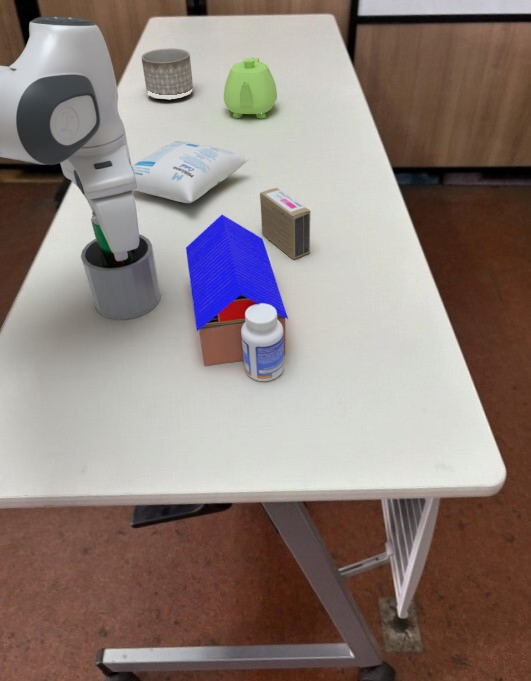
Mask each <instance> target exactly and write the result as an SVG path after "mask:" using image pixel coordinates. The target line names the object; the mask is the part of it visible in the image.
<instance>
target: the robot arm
mask: <svg viewBox="0 0 531 681" xmlns="http://www.w3.org/2000/svg"><path fill="white" fill-rule="evenodd" d="M28 25H29V26H28V32H29V37H28V40H27V43H26V45H25V47H24V49H23V51H22V52H21V54H20V55H19V56H18V57H17V59H16V60H15V61H14V62H13V63H12V64H10V65H9V66H6V65H0V158H5V159H10V160H13V161H19V162H26V163H30V164H36V165H42V166H43V165H45V166H46V165H48V166H54V165H58V164H60V167H61V171H62V175H63V176H64V177H65V178H66V179H68V180H69V181H71V182H72V183H73V184H74V185H75V186H76V187H77V189H79V190H80V192H81V193H82V195H83V196H84V198H85V199H86V201H87V203H88V206H89V207H90V209H91V211H92V212H94V215H95V216H96V220H97V222H98V224H99V226H100V228H101V230H102V232H103V234H104V236H105V238H106V241H107V243H108V245H109V247H110V249H111V251H112V252H113V255H114V257H115V259H116V261H122V260H126V259H127V258H128V253H127V251H130V250H133V249H136V248H137V247H138V245H139V234H140V230H139V229H140V228H139V222H138V212H137V204H136V199H135V195H134V194H135V193H134V191H136V190H135V189H137V182H136V177H135V174H134V171H133V168H132V166H133V165H132V159H131V155H130V148H129V144H128V139H127V138H128V137H127V133H126V128H125V124H124V122H123V120H122V118H121V116H120V113H119V105H118V104H119V91H118V86H117V80H116V75H115V71H114V67H113V63H112V59H111V55H110V52H109V49H108V45H107V42H106V39H105V37H104V35H103V33H102V31H101V29H100V27H99V26H98V25H97V23H94V22H93V21H91V20H89V19H86V18H82V17H81V18H80V17H72V16H58V15H48V16H38V17H35V18H34V19H32V20H31V21H29V24H28Z"/></svg>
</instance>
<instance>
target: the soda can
mask: <svg viewBox="0 0 531 681" xmlns="http://www.w3.org/2000/svg"><path fill="white" fill-rule="evenodd" d="M91 214H92V216H91V219H90V222H91V226H92V230H93V235H94V237H95V238H94V239H96V242H97V245H98V249H99V253H100V257H101V261H102V265H103V268H109V269H110V268H120V267H124V266H128V265H131V264H133V263H135V262H137V257H136V253H135V249H133V250H130V251H127V253H128V258H127V259H126V260H122V261H116V259H115V257H114V255H113V252H112V251H111V249H110V247H109V245H108V243H107V241H106V238H105V236H104V234H103V232H102V230H101V228H100V226H99V224H98V222H97V220H96V216H95V215H94V212H93V211H92V212H91Z"/></svg>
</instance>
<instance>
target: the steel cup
mask: <svg viewBox="0 0 531 681" xmlns="http://www.w3.org/2000/svg"><path fill="white" fill-rule="evenodd" d="M135 253H136V257H137V262H135V263H133V264H131V265H128V266H124V267H120V268H110V269H109V268H103V265H102V261H101V257H100V253H99V249H98V245H97V242H96V238H94V239H93V240H91V241H90V242H88V243H87V244H86V245H85V246H84V247H83V248H82V251H81V254H80V259H81V262H82V266H83V269H84V273H85V276H86V281H87V284H88V287H89V291H90V294H91V297H92V301H93V304H94V306H95V310H96V311H97V312H98V313H99V314H100V315H101V316H103V317H105V318H108V319H111V320H118V321H119V320H122V321H125V320H132V319H136V318H140V317H142V316H144V315H146V314H148V313H150V312H152V310H154V309H155V308H156V307H157V306H158V304H159V303H160V301H161V294H162V293H161V287H160V286H161V285H160V280H159V275H158V270H157V264H156V260H155V254H154V248H153V244H152V242H151V240H150V239H149V238H148V237H147V236H144V235H143V234H140V233H139V245H138V247H137V248H136V249H135Z"/></svg>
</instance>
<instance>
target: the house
mask: <svg viewBox="0 0 531 681" xmlns="http://www.w3.org/2000/svg"><path fill="white" fill-rule="evenodd" d="M185 252H186V260H187V267H188V274H189V282H190V290H191V296H192V306H193V313H194V319H195V328H196V332H198V331H199V338H200V346H201V353H202V359H203V366H204V367H208V366H215V365H223V364H229V363H236V362H244V360H243V348H242V337H241V328H242V326H243V324H244V323H245V312H246V310H247V309H248V308H249V307H250V306H252V305H255V304H260V303H264V304H269V305H271V306H273V307H274V308H275V309H276V311H277V320H279V321H280V323H281V324H282V327H283V347H284V356H286V319H287V320H289V317H288V314H287V311H286V307H285V304H284V301H283V298H282V295H281V292H280V289H279V285H278V282H277V280H276V277H275V273H274V271H273V270H274V269H273V267H272V264H271V261H270V258H269V255H268V251H267V249H266V245H265V243H264V240H263V238H262V237H260V236H259V235H257V234H256V233H254V232H252V231H251V230H249V229H247V228H246V227H245V226H243V225H240V223H237V222H235V221H234V220H232V219H230V218H229V217H227V216H226V215H224V214H221V215H219V216H218V217H217V218H216V219H215V220H214V221H213V222H212V223H211V224H210V225H209V226H208V227H206V228H205V229H204V230H203V231H202V232H201V233H200V234H199V235H198V236H197V237H195V238H194V239H193V240H192V242H190V243H189V244H188V245H187V246H186V247H185ZM211 321H212V322H211ZM213 321H214V322H213Z"/></svg>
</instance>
